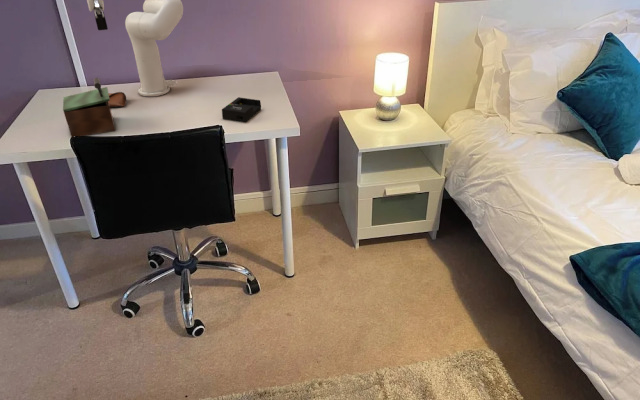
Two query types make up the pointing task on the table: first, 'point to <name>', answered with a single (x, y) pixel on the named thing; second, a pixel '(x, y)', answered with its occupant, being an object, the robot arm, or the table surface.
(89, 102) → the lid
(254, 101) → the battery charger
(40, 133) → the table surface
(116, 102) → the sunglasses case
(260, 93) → the table surface
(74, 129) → the chest
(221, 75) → the table surface
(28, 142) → the table surface
